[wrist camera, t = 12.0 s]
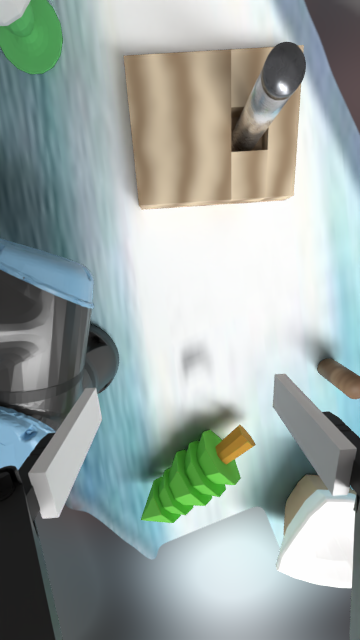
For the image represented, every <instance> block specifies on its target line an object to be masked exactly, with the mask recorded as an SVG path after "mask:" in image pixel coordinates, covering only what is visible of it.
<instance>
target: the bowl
mask: <svg viewBox="0 0 360 640" xmlns="http://www.w3.org/2000/svg"><path fill="white" fill-rule="evenodd" d="M356 494H357V493H356V492H355V491H354V490H352V489H351V488H349V493H348V495H337V496H332V494H331V493H330V491H329V490H328V488H327V487H326V485H325V484H324V482H323V481H322V479H321V478H320V476H319V475H305V476H304V477H303V478H302V479H301V480H300V481H299V482H298V483H297V485H296V486H295V488H294V489H293V491H292V492H291V494H290V496H289V497H288V499H287V502H286V505H285V519H284V538H283V541H282V545H281V548H280V552H279V555H278V559H277V563H276V567H277V570H279V571H280V572H282V573H285V574H287V575H289V576H292V577H294V578H296V579H300V580H303V581H307V582H310V583H314V584H318V585H326V586H333V587H339V588H352V570H353V547H354V524H355V511H354V510H353V509H354V504H355V499H356Z"/></svg>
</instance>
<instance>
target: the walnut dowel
mask: <svg viewBox="0 0 360 640" xmlns="http://www.w3.org/2000/svg"><path fill="white" fill-rule="evenodd" d="M317 370H318V372H319V374H320V375H322V376H323V377H324V378H326V379H327V380H328V381H329V382H331V383H332V384H333V385H334V386H336V387H337V388H338V389H339V390H341V391H342V392H343V393H344V394H346V395H347V396H348V397H349V398H352V399H359V398H360V376H358V375H357V374H355V373H354V372H352V371H351V370H349V369H347V368H346V367H344V366H343V365H341V364H340V363H338V362H336V361H335V360H333V359H330V358H327V359H324V360H322V361H321V362H320V363H319V365H318V368H317Z"/></svg>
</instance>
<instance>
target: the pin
mask: <svg viewBox="0 0 360 640" xmlns="http://www.w3.org/2000/svg"><path fill="white" fill-rule="evenodd" d="M305 69H306V62H305V57H304V54H303V52H302V50H301V49H300V48H299V47H298V46H297V45H296V44H294V43H291V42H283V43H280V44H278V45H277V46H275V47H274V48H273V49H272V50H271V52H270V53H269V55H268V56H267V59H266V61H265V63H264V65H263V68H262V70H261V73H260V75H259V77H258V79H257V81H256V83H255V85H254V87H253V90H252V92H251V94H250V96H249V98H248V100H247V102H246V105H245V107H244V109H243V111H242V113H241V115H240V117H239V119H238V122H237V124H236V126H235V128H234V130H233V133H232V138H231V139H232V144H233V147H234V148H235V149H236V150H237V151H238V152H241V151H250V150H252V149H253V148H254V146H255V145H256V143H257V142H258V141H259V139H260V138H261V137H262V135H263V134H264V132H265V131H266V130H267V128H268V127H269V126H270V124H271V123H272V121H273V120H274V119H275V117H276V116H277V115H278V113H279V112H280V110H281V109H282V108H283V106H284V105H285V104H286V102H287V101H288V99H289V98H290V97H291V95H292V94H293V93H294V92H295V91H296V89H297V88H298V87H299V85H300V84H301V82H302V80H303V78H304V75H305Z"/></svg>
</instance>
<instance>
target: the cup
mask: <svg viewBox="0 0 360 640" xmlns="http://www.w3.org/2000/svg"><path fill="white" fill-rule="evenodd" d="M62 42H63V38H62V31H61V25H60V22H59V20H58V18H57V15H56V13H55V11H54V9H53V7H52V6H51V5H50V4H49V3H48V2H47V0H0V47H1V49H2V51H3V52H4V54H5V56H6V58H7V59H8V60H9V61H10V62H11V63H12V64H13V65H14V66H16V67H17V68H18V69H20V70H22V71H24V72H26V73H29V74H43V73H45V72H46V71H48V70H50V69H51V68H53V67H54V65H55V64H56V62H57V60H58V59H59V57H60V54H61V48H62Z"/></svg>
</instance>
